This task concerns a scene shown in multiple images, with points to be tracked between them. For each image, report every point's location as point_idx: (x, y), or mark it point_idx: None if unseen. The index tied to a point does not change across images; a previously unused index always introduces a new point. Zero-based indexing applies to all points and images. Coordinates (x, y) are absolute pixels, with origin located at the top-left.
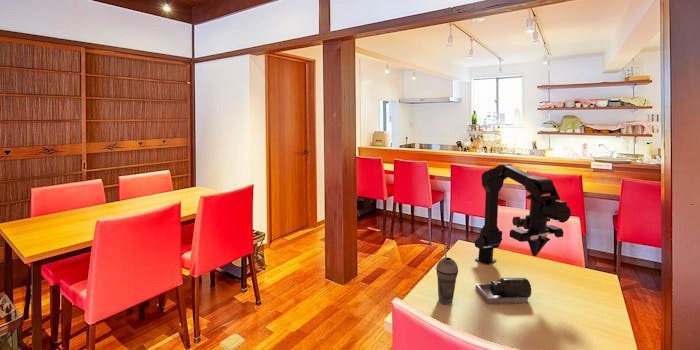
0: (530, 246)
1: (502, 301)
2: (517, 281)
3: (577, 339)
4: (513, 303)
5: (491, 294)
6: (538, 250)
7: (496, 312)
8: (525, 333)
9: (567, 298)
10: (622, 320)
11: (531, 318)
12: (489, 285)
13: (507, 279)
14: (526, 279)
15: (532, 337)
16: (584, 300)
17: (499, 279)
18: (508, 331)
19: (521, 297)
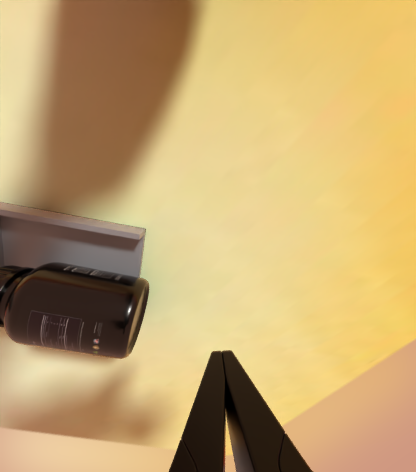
0: (179, 458)
1: None
2: (69, 349)
3: (147, 435)
4: None
5: (37, 258)
6: (235, 461)
7: None
8: (47, 408)
9: (272, 320)
10: (302, 410)
11: (97, 371)
12: (40, 219)
13: (25, 334)
14: (118, 349)
15: (55, 419)
16: (307, 337)
17: (9, 298)
18: (9, 397)
19: None
